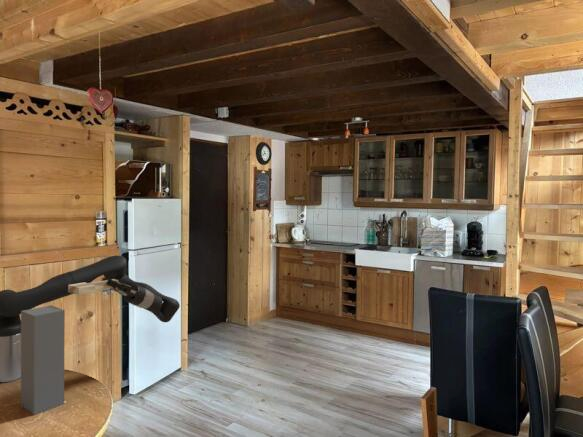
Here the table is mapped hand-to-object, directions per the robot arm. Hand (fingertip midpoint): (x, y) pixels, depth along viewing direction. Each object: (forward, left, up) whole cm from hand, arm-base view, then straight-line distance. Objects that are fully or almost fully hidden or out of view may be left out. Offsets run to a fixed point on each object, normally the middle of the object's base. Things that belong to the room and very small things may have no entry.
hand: (105, 280), depth 161 cm
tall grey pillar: (0, -22, -39) cm, 45 cm away
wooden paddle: (0, -4, -3) cm, 5 cm away
